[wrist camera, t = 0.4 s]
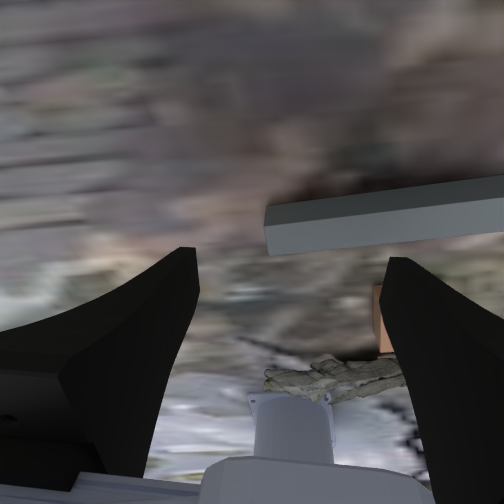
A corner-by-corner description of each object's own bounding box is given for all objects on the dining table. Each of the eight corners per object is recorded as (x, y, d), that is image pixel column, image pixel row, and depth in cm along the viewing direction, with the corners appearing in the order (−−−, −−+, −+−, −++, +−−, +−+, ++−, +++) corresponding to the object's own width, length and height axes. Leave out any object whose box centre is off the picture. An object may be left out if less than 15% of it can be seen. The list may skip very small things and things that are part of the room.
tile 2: (432, 324, 25) (446, 349, 23) (372, 328, 26) (380, 352, 24) (438, 277, 23) (454, 299, 21) (372, 283, 24) (381, 305, 21)
